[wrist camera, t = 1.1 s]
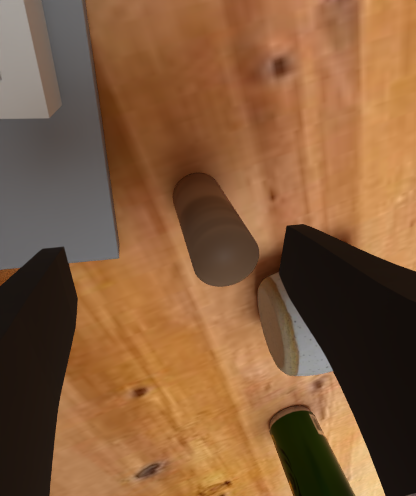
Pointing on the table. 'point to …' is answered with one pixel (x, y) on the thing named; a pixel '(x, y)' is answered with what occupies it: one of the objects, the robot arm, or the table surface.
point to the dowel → (213, 232)
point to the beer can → (307, 455)
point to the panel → (51, 137)
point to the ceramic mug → (288, 332)
